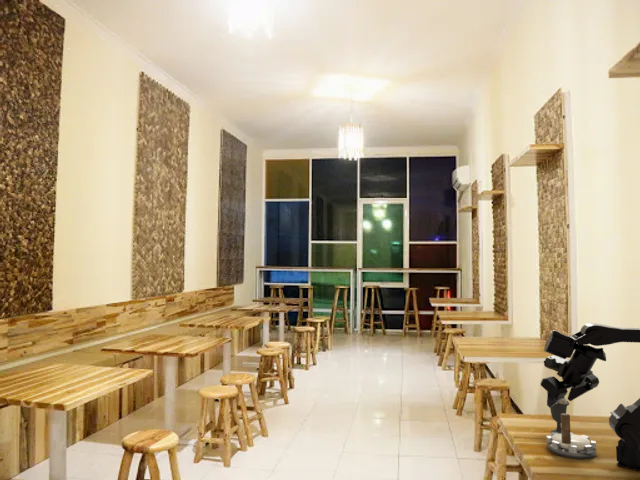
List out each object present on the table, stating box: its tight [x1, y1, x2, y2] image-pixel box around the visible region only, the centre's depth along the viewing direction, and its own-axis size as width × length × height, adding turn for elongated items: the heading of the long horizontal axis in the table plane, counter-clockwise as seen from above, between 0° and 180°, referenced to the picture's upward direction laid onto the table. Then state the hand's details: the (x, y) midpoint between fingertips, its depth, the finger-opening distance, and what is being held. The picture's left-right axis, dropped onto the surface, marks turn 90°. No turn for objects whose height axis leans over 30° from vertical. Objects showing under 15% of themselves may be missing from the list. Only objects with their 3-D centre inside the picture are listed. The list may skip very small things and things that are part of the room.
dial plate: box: [546, 432, 597, 460], centre depth 144 cm, size 13×13×3 cm
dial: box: [552, 413, 591, 451], centre depth 144 cm, size 10×10×10 cm
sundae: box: [549, 397, 570, 434], centre depth 159 cm, size 7×7×15 cm
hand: (558, 403), depth 146 cm, fingers open, 9 cm apart
